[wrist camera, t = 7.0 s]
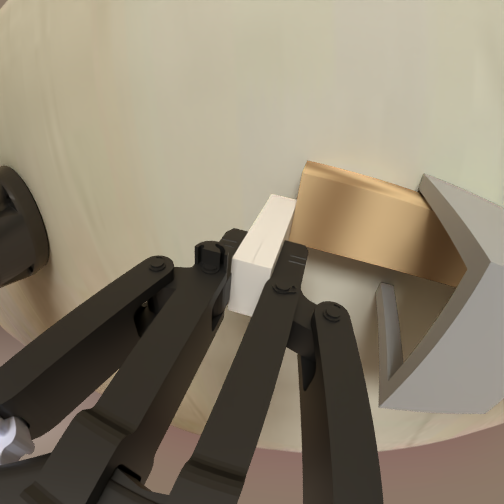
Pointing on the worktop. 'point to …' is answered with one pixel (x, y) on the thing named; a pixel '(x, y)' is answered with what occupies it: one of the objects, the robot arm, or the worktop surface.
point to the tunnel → (452, 318)
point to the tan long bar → (373, 224)
